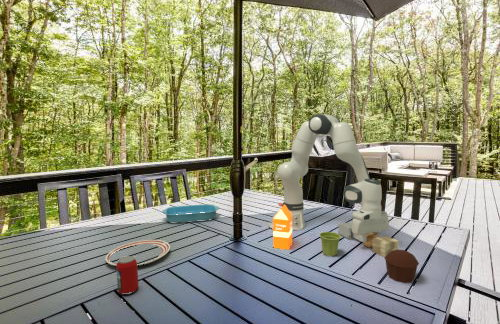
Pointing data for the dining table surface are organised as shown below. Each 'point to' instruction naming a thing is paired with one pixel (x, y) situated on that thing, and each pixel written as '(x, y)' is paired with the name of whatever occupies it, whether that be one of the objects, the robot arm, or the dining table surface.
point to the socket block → (384, 245)
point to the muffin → (401, 266)
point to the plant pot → (330, 243)
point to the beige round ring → (159, 243)
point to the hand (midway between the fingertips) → (370, 240)
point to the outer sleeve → (345, 230)
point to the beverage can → (127, 274)
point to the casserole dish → (194, 209)
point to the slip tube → (369, 236)
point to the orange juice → (282, 229)
